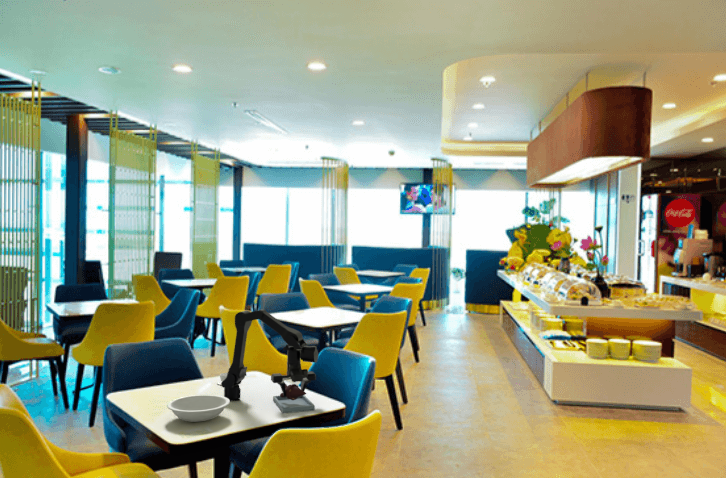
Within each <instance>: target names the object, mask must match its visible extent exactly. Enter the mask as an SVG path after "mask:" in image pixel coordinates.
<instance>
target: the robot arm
mask: <svg viewBox="0 0 726 478" xmlns="http://www.w3.org/2000/svg"><path fill="white" fill-rule="evenodd" d="M256 320H260V321H261V322H263V323H264V324H265V325H266V326H267V327H269V328H271V330H273V331H274V332H276V333H277V334H279V335H280V336H281V338H282V340H283V342H285V343H286V345H285V346H284V347H283V348H282V350H283V351H287V354H286V355H287V358H286V359H287V360H286V361H287V362H286V374H285V375H282V374H281V373H278V372H277V373H272V374H271V375H270V381H271V382H272V383H273V384H278V385H279V386H280V389H281V393H283V395H284V398H285V397H286V392H285V384H286V382H285V380H286V381H287V380H290V381H291V382H292V383H296V382H300V389H301V390H303V391H304V392H306V391H305V390H306V388H307V386H308V385H309V383H311V382H312V381H317V375H316V373H315V372H314V371H309V370H308V369H307V368H305V369H302V362H303V363H305V362H306V363H315V364H316V363H317V362H318V360H319V350H318V349H317V348H318V347H317V346H315V345H312V346H310V345H308V344H307V343H306V340H305V339H304V338H303V334H302V332H300V331H299V330H297V329H295V328H293V327H289V326H287V325H286V324H284V323H283V322H281V321H280V320H279V319H277V318H276V317H275V316H273V315H272V314H271V313H269V312H267V310H266V309H264V308H263V309H258V310H255V311H250V310H243V311H239V312H237V313H236V314H235V316H234V326H235V330H236V334H235V342H234V348H233V357H232V363H231V365H230V367H228V370H227V373H228V374H227V378H226V379H225V380H224V381H223V382H222V383H221V384H222V385H221V387H222V388H223V397H226V398H228V399H229V400H230V402H236V401H238V402H239V401H241V400H240V399H241V391H242V389H241V388H240V385H241V383H242V381H243V380H244V379H245V377H246V376H247V370H248V366H245V364H244V360H245V352H246V347H247V346H246V345H247V336H248V332H249V330H250V328H251V326H252V323H253V321H256ZM302 396H303V395H302ZM302 396H301V397H302Z"/></svg>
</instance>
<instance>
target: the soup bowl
mask: <svg viewBox="0 0 726 478" xmlns="http://www.w3.org/2000/svg"><path fill="white" fill-rule="evenodd" d="M230 403H231V401H230V400H229V399H228V398H226V397H224V395H218V394H217V395H216V394H193V395H186V396H185V395H184V396H182V397H178V398H175V399H171V400H170V401H168V403H167V405H166V407H167V408H168V410H171V412H172V413H173V415H174V416H176V417H177V418H178V419H180V420H182V421H186V422H192V423H193V422H194V423H195V422H196V423H197V422H206V421H209V420H212V419H215V418H217V417H218V416H220V415H221V413H222V412H224V410H225V408H226V407H227V406H229V405H230Z"/></svg>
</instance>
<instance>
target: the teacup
mask: <svg viewBox="0 0 726 478" xmlns="http://www.w3.org/2000/svg"><path fill="white" fill-rule="evenodd" d="M227 374H228V372H222V373H220V374H219V378H220V380H219V381H218V382H217V385H220V386H222V384H221V383H222V382H223V381H224V380H225V379H226V378H227Z"/></svg>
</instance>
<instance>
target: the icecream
mask: <svg viewBox="0 0 726 478" xmlns="http://www.w3.org/2000/svg"><path fill="white" fill-rule="evenodd" d="M285 392H286V397H287V398H288V399H291V400H296V399H297V398H298V397H300V396H302V395H305V396H306V395H307V393H306V391H303V390H301V387H299V386H298V384H295V383H291V384H289V385H288V384H287V383H285ZM279 396H280V397H282V398H284V395H283V392H280V394H279Z"/></svg>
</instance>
